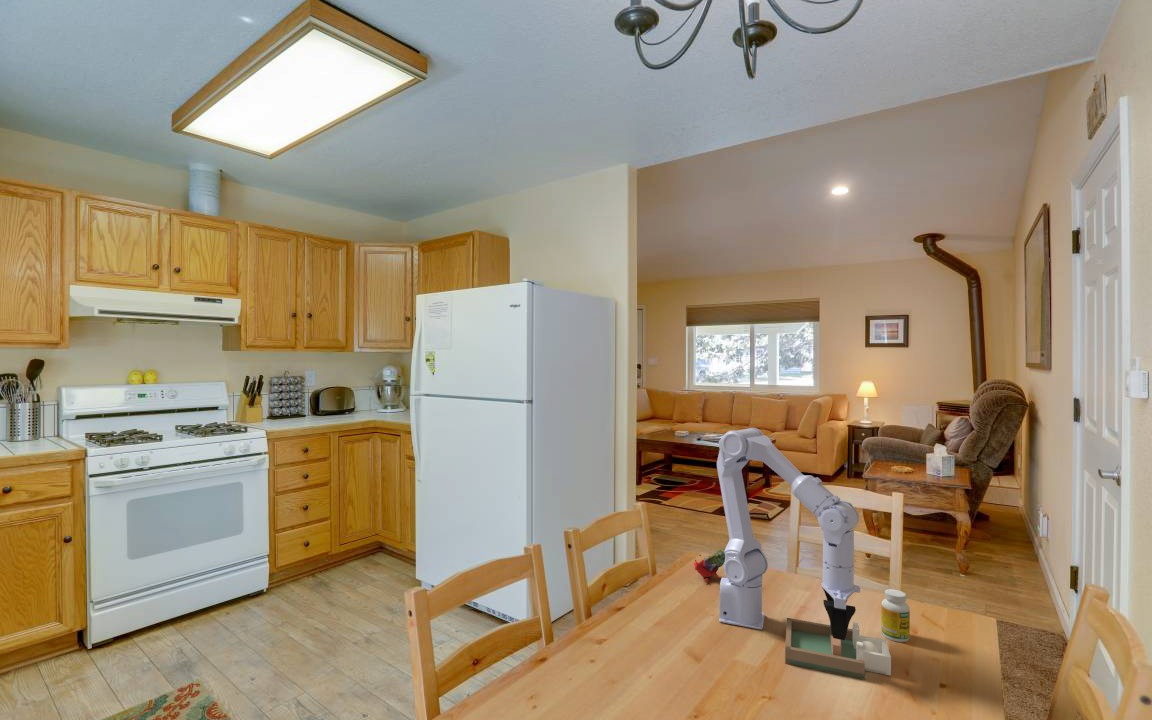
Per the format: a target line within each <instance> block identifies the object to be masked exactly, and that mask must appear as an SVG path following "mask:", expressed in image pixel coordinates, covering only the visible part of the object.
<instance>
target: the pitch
mask: <svg viewBox="0 0 1152 720" xmlns="http://www.w3.org/2000/svg"><path fill="white" fill-rule="evenodd" d="M785 627H786V628H785V630H786V631H785V644H784V645H785V649H784V650H785V651H784V654H785V655H784V664H785V665H792V666H797V667H801V668H806V669H811V670H816V671H821V672H826V673H831V674H834V675H835V674H837V675H841V676H844V677H845V676H846V677H849V678H855V679H861V680H864V681H865V679H866V677H865V676H866V675H865V672H870V673H877V674H880V675H885V676H886V675H887V676H890V677H891V675H892V657H891V653H890V650H889V647H888V643H887V640H886V639H883V638H877V637H870V636H865V635H860V625H859V622H857V621H852V628H848V630H847V634H846V638H845V640H840V641H841V656H836V655H832V649H831V640H830V624H825V623H819V622H813V621H807V620H802V619H795V618H790V617H786V626H785ZM864 641H869V642H871V643H873V644H874V645H875V646H876V647H877V649H878V653H875V652H870V651H865V650H864V648H863V643H862V642H864Z"/></svg>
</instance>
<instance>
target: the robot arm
mask: <svg viewBox="0 0 1152 720" xmlns="http://www.w3.org/2000/svg"><path fill="white" fill-rule="evenodd" d="M718 447H719V450H718V455H717V456H718V457H717V461H716V469H717V475H718V480H719V485H720V486H719V487H720V492H721V497H722V498H721V499H722V502H723V510H724V515H725V521H726V526H727V532H728V533H727V534H728V538H729V541H728V543H727V545H726V547H725V548H724V549H725V551H724V552H725V562H724V564H723V572H724V574H725V577H724V576H723V577H720V578H721V579H720V583H719V605H718V609H719V617H718V618H719V619H718V621H719V622H720V623H723V624H730V625H733V626H740V627H746V628H749V629H755V630H763V629H764V623H765V613H764V612H763V575H764V574H766V572H767V570H768V566H769V563H768V559H767V557H766V555H765V554H764V552H763V549H762V545H761V542H760V541H758V540H757V538H755V537H754V533H753V527H752V521H751V516H750V510H749V504H748V499H747V493H746V488H745V482H744V477H743V473H742V469H743V468H744V467H745V466H746V465H747V464H748V462H749V461H757V462H763V463H764V464H765V465H766V466H768V467H769V468H770V469H771V471H774V473H776V474H777V475H778V476H779V477H781V479H783V480H784V481H785V482H787V483H788V484H789V485H790V487H791V493H792V495H793V496H794V497H795V498H796V499H797V500H798V501H799V502H801V504H802V505H803V506H805V508H807V509H808V510H809V511H810V512H811V513H812V514H813V515H814V516H815V517H817V522H818V526H819V527H820V529H821V530H822V532H823V533H822V536H823V537H822V538H823V539H822V581H821V588H822V590H823V592H824V595H825V598H826V599H823V607H824V609H825V611H826V612H827V615H828V619H829V623H830V624H829V625H831V631H832V636H833V638H835V639H840V640H845V638H846V634H847V630H848V629H849V625H850V622H851V620H852V618H853V616H854V615H855V613H856V606H854V605H847V602H848V600H849V598H851V596H852V595H853V594H855V593H861V587H860V586H859V585H857V584H856V585H855V582H854V579H855V530H854V528H856V526H857V525H858V524H859V521H860V520H859V518H860V517H859V514H858V511H857V509H856V508H855V507H854V506H853V504H852V503H851V502H849V501H847V500H841V498H840V497H839V496H838V495H834V494H833V493H832V492H831V491H830V490H829V489H828V488H826V487H825V486H824V485H823V484H822V482H823V481H822V479H820V478H819V477H818V476H817V477H814V476H813V475H804V474H803V473H802V472H801V471H800V470H799V469H798V468H797V467H796V466H795V465H794V464H793V463H792V462H791V460H789V459H788V458H787V457H786V456H785V455H784V454H783V453H782V452H781V451H780V450H779V449H778V448H777V447H776V446H775V445H774V444H773V442H772V440H771V438H769V437H768V436H767V435H765V434H764V433H763V431H761V430H760V429H758V428H756V427H749V428H746V429H739V430H728V431H727V432H726V433H724V434H723V436H722V437H721V438H720V439H719V441H718Z"/></svg>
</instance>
